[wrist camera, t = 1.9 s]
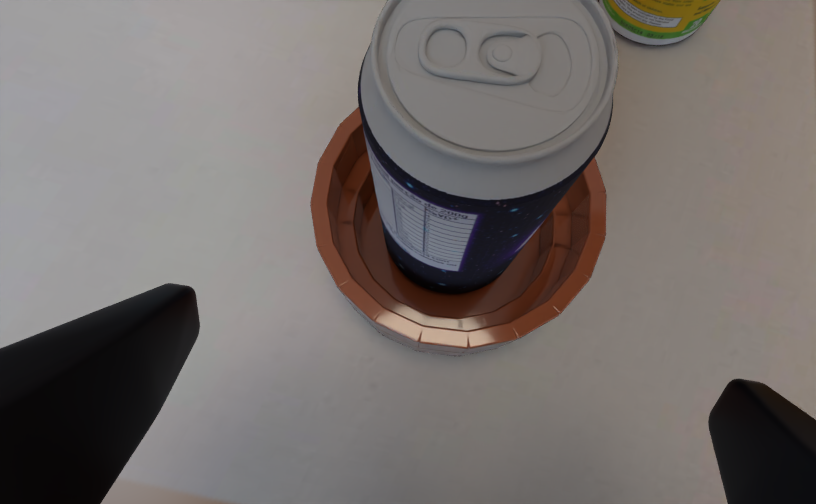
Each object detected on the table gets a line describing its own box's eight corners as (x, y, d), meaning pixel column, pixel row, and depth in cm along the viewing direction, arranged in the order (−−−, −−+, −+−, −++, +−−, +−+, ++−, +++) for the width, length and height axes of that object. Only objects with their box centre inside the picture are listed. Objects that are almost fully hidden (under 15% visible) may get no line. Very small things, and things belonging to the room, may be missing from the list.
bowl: (614, 280, 21) (667, 252, 16) (403, 402, 19) (400, 408, 15) (487, 96, 23) (504, 30, 19) (293, 194, 22) (264, 147, 18)
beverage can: (508, 307, 20) (635, 201, 9) (374, 286, 20) (324, 157, 9) (520, 183, 22) (643, -49, 10) (396, 166, 22) (377, -79, 10)
